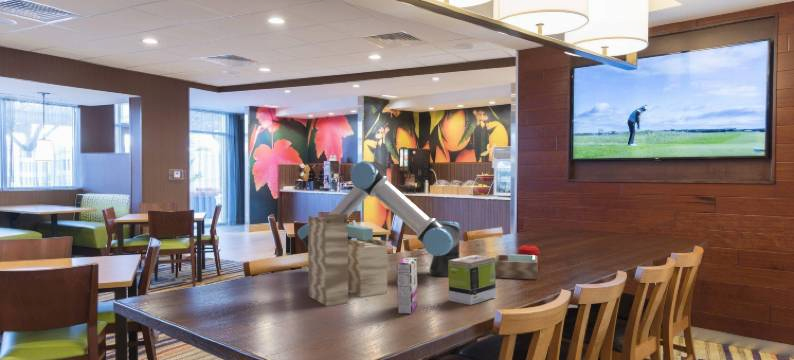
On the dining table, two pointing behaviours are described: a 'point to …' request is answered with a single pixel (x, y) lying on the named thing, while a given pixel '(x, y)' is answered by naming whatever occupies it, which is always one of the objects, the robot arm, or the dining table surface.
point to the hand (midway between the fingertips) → (349, 223)
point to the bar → (360, 232)
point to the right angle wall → (521, 258)
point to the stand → (328, 258)
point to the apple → (529, 250)
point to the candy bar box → (407, 285)
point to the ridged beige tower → (367, 267)
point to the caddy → (515, 268)
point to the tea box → (472, 279)
